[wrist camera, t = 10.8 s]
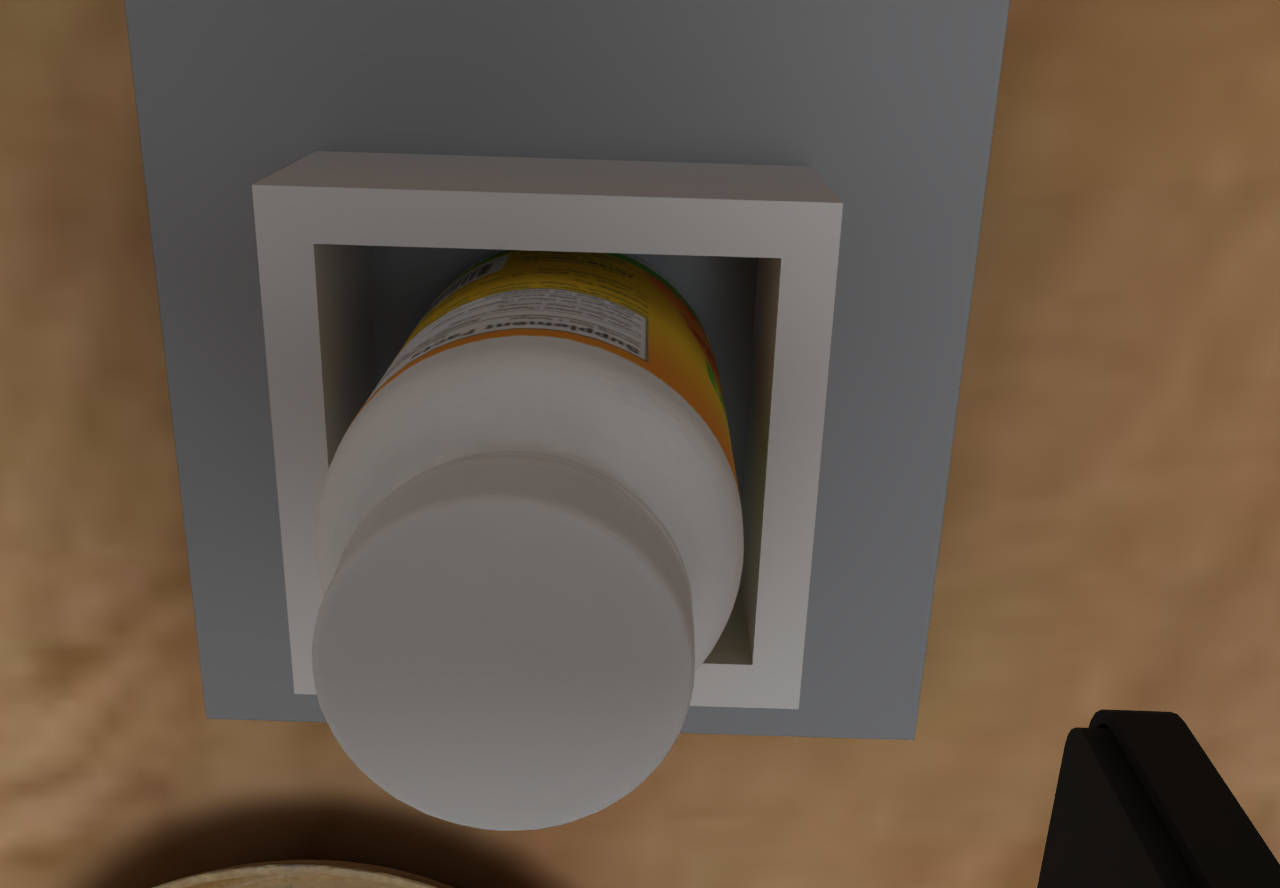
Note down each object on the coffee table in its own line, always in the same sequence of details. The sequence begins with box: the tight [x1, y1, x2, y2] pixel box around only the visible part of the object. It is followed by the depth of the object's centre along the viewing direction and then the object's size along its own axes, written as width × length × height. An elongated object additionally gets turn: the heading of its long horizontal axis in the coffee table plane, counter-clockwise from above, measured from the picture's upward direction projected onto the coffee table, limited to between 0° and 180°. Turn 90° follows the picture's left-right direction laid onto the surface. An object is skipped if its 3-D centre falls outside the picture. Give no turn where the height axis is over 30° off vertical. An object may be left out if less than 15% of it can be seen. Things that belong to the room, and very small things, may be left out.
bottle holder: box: [124, 0, 1010, 740], centre depth 21 cm, size 14×14×5 cm
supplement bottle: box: [312, 250, 744, 831], centre depth 17 cm, size 5×5×10 cm
